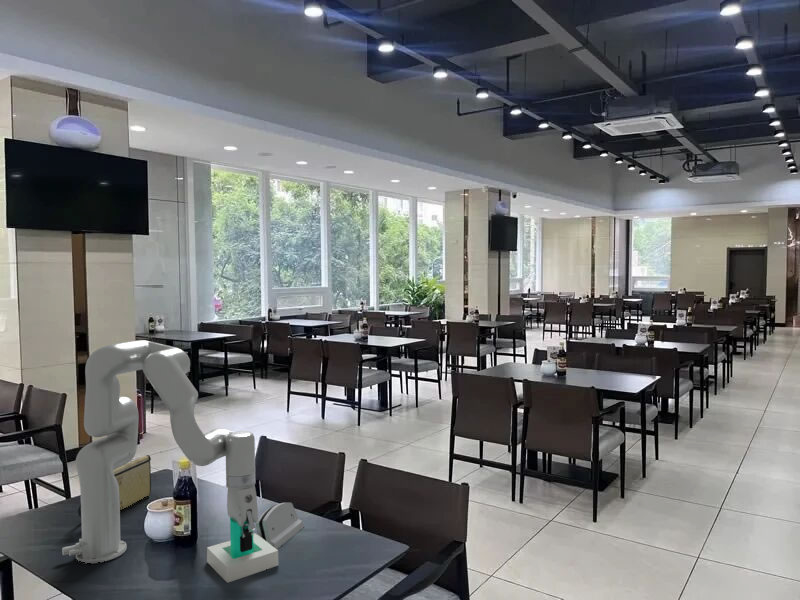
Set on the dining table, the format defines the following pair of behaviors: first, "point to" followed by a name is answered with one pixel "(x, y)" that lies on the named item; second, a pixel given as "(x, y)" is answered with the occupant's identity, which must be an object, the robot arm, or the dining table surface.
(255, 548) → the candle holder
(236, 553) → the candle
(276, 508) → the hinge
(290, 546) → the dining table surface
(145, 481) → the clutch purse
